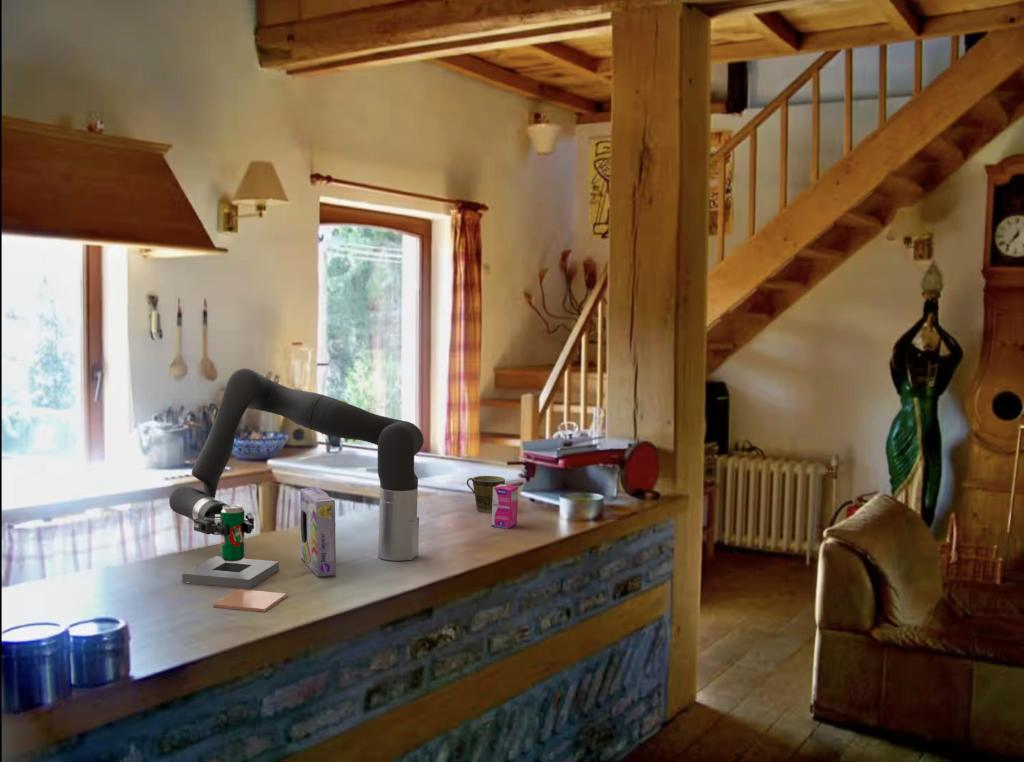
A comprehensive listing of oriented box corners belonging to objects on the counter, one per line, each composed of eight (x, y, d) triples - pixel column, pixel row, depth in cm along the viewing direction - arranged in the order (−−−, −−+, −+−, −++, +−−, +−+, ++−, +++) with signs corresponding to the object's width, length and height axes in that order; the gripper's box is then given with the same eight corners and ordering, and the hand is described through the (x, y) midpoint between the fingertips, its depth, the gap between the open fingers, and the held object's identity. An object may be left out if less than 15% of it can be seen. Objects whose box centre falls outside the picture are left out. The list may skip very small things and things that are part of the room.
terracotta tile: (286, 596, 209) (286, 593, 209) (264, 611, 198) (264, 609, 198) (237, 591, 211) (237, 588, 211) (213, 607, 200) (213, 604, 200)
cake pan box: (297, 557, 240) (299, 485, 239) (318, 556, 242) (320, 484, 241) (314, 579, 223) (316, 501, 221) (336, 577, 225) (338, 500, 223)
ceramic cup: (510, 510, 304) (511, 478, 303) (492, 516, 295) (493, 482, 294) (475, 504, 310) (476, 473, 310) (456, 509, 302) (457, 477, 301)
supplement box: (490, 527, 281) (492, 487, 280) (498, 523, 286) (500, 483, 285) (509, 529, 279) (511, 489, 278) (517, 525, 284) (519, 485, 283)
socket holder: (278, 570, 229) (278, 561, 228) (249, 588, 213) (249, 579, 213) (215, 564, 231) (215, 556, 231) (182, 582, 216) (182, 573, 216)
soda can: (223, 555, 224) (223, 503, 223) (246, 555, 225) (246, 503, 223) (219, 562, 219) (218, 508, 218) (242, 562, 220) (242, 508, 218)
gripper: (182, 502, 229) (205, 517, 215) (242, 496, 237) (269, 510, 223) (182, 534, 229) (205, 551, 215) (242, 527, 237) (268, 543, 224)
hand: (237, 530), depth 219 cm, fingers closed on soda can, 4 cm apart
